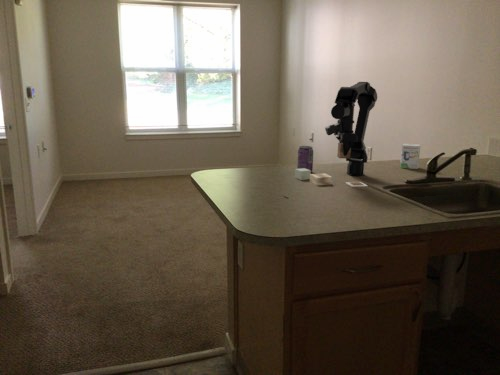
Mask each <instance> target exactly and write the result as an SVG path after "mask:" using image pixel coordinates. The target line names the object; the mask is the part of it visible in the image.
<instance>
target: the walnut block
mask: <svg viewBox="0 0 500 375" xmlns="http://www.w3.org/2000/svg"><path fill="white" fill-rule="evenodd" d="M350 153H351V148H350V150H349V152H348V154H347V155H346V156H344V154H343V143H339V142H338V143H337V156H336V157H337V158H338V159H345V160H346V159H350Z"/></svg>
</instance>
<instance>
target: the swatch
mask: <svg viewBox="0 0 500 375" xmlns="http://www.w3.org/2000/svg"><path fill="white" fill-rule="evenodd" d="M345 184H346V185H348V186H350V187H351V188H357V187H358V188H359V187H360V188H361V187H369V186H368V185H367V184H365V183H363V182H361V181H347V182H346V181H345Z"/></svg>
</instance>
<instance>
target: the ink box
mask: <svg viewBox="0 0 500 375" xmlns="http://www.w3.org/2000/svg"><path fill="white" fill-rule="evenodd" d="M400 152H401V153H400V166H399V167H400V169H410V170H412V169H413V170H418V169H419V163H420V153H421V144H419V143H418V144H417V143H416V144H415V143H402V145H401V151H400Z"/></svg>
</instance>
